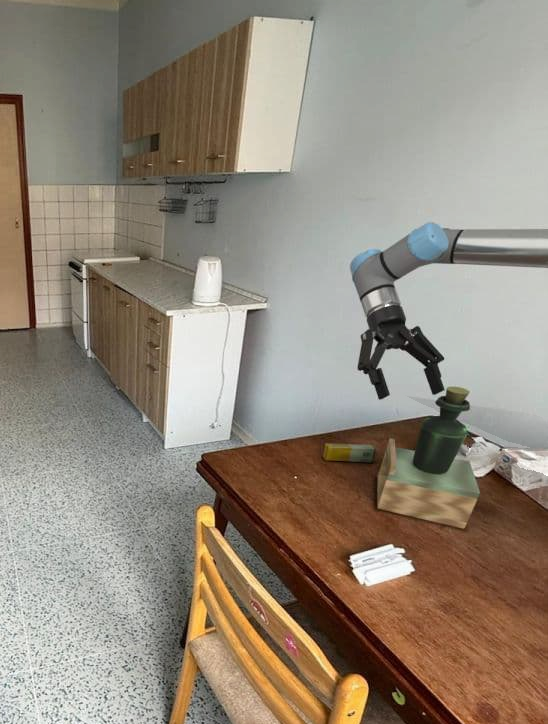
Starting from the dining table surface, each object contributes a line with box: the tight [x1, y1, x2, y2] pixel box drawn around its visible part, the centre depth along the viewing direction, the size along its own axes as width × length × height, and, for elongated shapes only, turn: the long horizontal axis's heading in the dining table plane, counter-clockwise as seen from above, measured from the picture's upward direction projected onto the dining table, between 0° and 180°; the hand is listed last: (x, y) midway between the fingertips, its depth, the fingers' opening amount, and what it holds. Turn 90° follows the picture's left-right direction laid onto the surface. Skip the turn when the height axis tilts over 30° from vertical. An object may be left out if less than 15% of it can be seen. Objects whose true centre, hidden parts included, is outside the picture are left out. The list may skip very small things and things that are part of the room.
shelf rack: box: [376, 437, 481, 530], centre depth 104 cm, size 16×14×11 cm
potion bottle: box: [413, 386, 471, 474], centre depth 98 cm, size 8×8×18 cm
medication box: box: [322, 443, 377, 464], centre depth 122 cm, size 12×3×4 cm, turn 85°
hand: (411, 395), depth 105 cm, fingers open, 13 cm apart
